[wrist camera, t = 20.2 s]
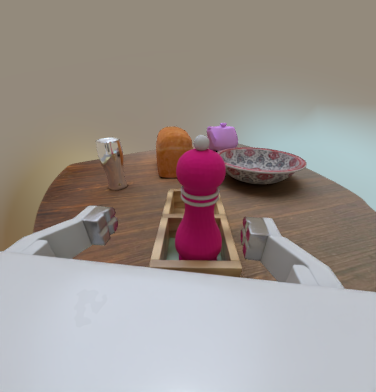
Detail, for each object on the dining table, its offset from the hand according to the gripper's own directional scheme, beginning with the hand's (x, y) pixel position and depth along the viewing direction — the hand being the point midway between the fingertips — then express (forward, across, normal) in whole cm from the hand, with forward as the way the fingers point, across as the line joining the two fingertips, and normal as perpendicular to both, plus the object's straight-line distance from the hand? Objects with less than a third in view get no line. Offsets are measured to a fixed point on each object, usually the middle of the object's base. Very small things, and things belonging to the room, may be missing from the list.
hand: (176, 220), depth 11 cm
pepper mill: (+11, +1, -17) cm, 20 cm away
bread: (+61, -13, -18) cm, 65 cm away
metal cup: (+39, -28, -18) cm, 51 cm away
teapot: (+90, +6, -18) cm, 92 cm away
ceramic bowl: (+51, +18, -18) cm, 57 cm away
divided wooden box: (+17, 0, -18) cm, 25 cm away
